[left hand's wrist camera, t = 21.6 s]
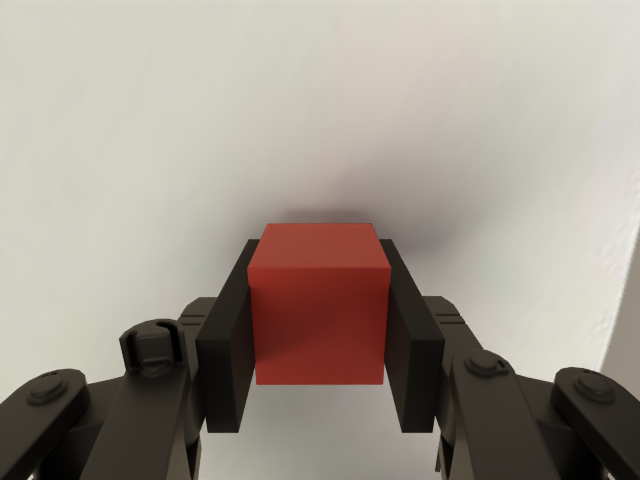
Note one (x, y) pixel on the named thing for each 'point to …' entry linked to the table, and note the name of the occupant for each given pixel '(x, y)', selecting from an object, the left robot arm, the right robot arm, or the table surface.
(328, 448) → the table surface
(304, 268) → the red cube
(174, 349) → the left robot arm
